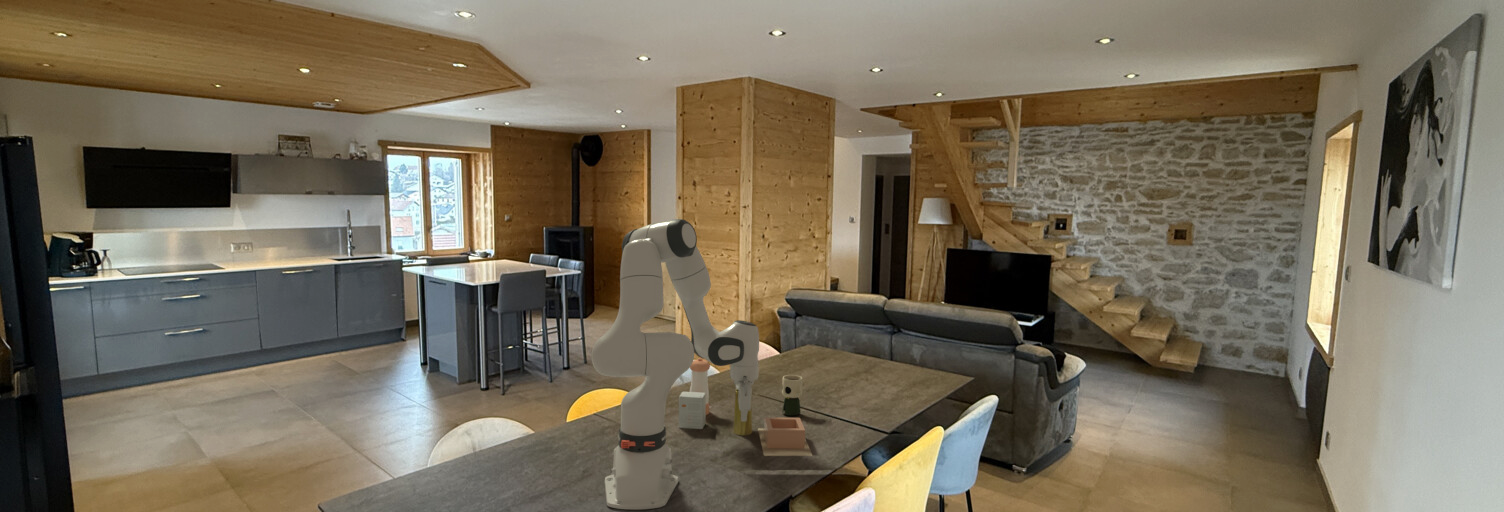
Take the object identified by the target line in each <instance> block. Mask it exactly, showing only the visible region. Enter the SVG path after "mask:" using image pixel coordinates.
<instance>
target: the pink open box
mask: <svg viewBox="0 0 1504 512" xmlns="http://www.w3.org/2000/svg"><path fill="white" fill-rule="evenodd" d="M801 419H802V418H800V417H764V424H763V426H764V428H763V429H764V437H765V441H766V445H767V448H804V447H805V439H806V429H805V426H804V425H803V422H802V420H801Z"/></svg>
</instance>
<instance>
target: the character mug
mask: <svg viewBox="0 0 1504 512" xmlns="http://www.w3.org/2000/svg"><path fill="white" fill-rule="evenodd" d="M803 380H804V378H803V376H801V375H796V374H787V375H783V376H782V383H781V384H782V388H781V395H782V396H783V397H784V398H783V404H782V414H784V415H785V416H796V415H800V414H801V404H800V403H801V401H800V399H799V398H801V397H802V396H803V384H804V381H803Z"/></svg>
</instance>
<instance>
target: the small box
mask: <svg viewBox="0 0 1504 512" xmlns="http://www.w3.org/2000/svg"><path fill="white" fill-rule="evenodd" d="M706 416H707V415H706V393H701V392H690V391H682V392H681V393H680V395H679V396H678V428H679V429H690V430H691V429H692V430H703V429H704V427H705V425H706Z"/></svg>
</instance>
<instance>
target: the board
mask: <svg viewBox="0 0 1504 512" xmlns="http://www.w3.org/2000/svg"><path fill="white" fill-rule="evenodd" d="M757 431H758V432H757V433H758V435H759V440H760V444H761V449H762V454H763V456H764V457H768V456H769V457H812V456H813V454H812V451H811V448H810V446H809V444H808V441H807V439H806V438H805V447H804V448H767V445H766V441H765V437H764V428H757Z"/></svg>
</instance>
